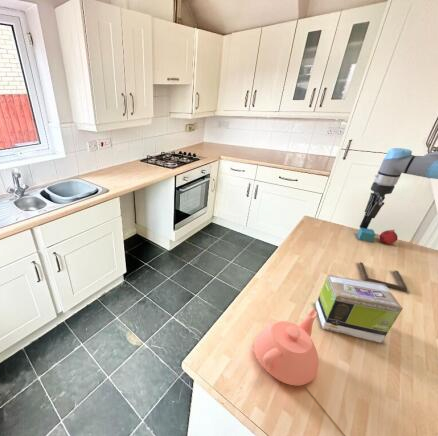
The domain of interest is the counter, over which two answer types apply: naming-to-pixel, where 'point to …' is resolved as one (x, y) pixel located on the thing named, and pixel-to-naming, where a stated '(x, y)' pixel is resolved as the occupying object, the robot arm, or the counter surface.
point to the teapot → (288, 351)
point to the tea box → (357, 308)
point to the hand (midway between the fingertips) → (363, 227)
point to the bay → (397, 275)
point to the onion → (388, 236)
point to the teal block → (366, 234)
